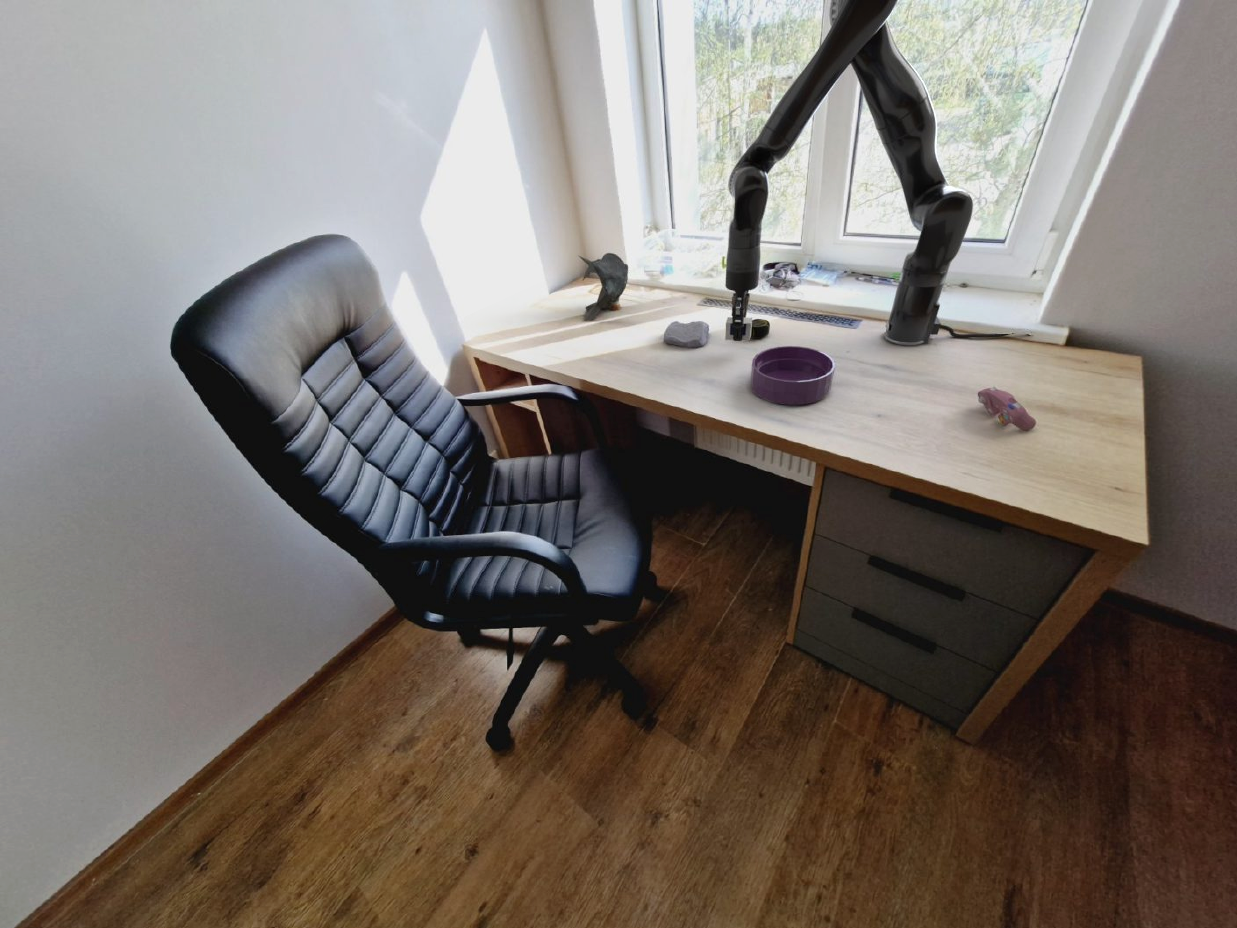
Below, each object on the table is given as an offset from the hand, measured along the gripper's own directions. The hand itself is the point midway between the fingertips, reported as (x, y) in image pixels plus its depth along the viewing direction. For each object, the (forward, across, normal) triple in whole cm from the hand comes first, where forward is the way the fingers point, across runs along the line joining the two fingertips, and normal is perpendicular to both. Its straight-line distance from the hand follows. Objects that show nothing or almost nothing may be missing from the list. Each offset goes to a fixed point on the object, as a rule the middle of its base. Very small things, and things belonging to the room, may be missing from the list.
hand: (738, 336), depth 118 cm
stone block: (+5, +7, +15) cm, 17 cm away
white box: (0, 0, 0) cm, 0 cm away
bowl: (+5, -16, -13) cm, 21 cm away
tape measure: (+5, +12, -3) cm, 13 cm away
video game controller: (+5, -24, -51) cm, 57 cm away
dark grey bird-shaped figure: (+5, +29, +45) cm, 54 cm away
